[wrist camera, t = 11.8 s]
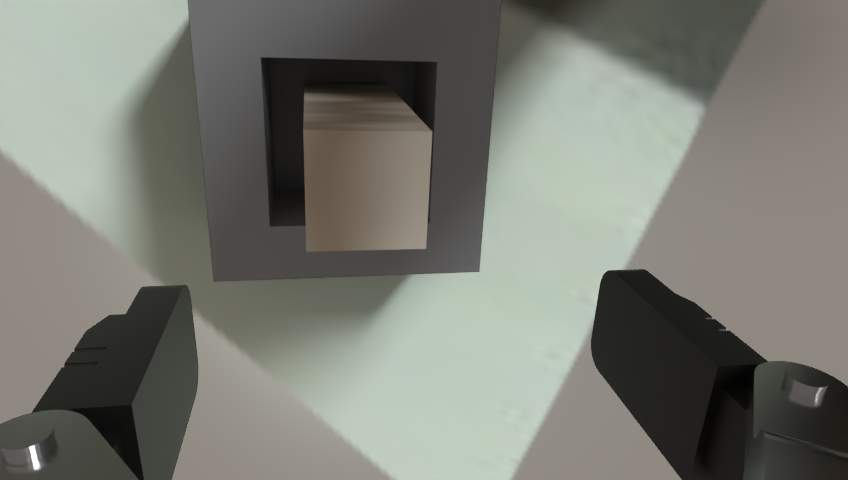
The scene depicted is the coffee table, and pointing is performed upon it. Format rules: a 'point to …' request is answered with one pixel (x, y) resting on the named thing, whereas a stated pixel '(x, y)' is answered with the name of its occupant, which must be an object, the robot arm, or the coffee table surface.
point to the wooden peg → (364, 168)
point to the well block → (284, 115)
